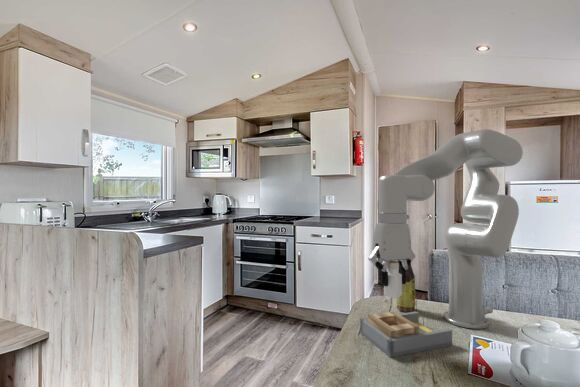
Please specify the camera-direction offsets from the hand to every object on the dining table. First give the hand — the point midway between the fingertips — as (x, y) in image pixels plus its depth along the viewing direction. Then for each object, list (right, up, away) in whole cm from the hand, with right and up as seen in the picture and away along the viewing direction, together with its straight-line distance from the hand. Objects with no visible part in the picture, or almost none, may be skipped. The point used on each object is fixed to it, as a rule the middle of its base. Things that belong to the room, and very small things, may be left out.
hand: (392, 283), depth 85 cm
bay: (+4, -16, +1) cm, 17 cm away
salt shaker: (0, -4, 0) cm, 4 cm away
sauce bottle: (+13, -16, +23) cm, 31 cm away
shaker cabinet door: (0, -15, 0) cm, 15 cm away
